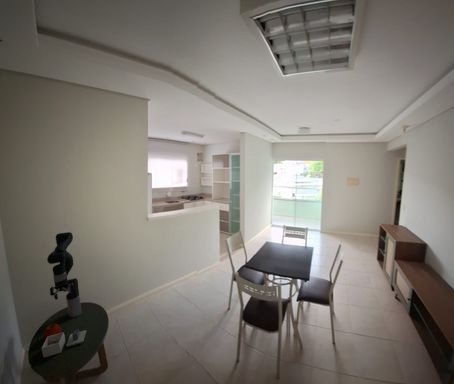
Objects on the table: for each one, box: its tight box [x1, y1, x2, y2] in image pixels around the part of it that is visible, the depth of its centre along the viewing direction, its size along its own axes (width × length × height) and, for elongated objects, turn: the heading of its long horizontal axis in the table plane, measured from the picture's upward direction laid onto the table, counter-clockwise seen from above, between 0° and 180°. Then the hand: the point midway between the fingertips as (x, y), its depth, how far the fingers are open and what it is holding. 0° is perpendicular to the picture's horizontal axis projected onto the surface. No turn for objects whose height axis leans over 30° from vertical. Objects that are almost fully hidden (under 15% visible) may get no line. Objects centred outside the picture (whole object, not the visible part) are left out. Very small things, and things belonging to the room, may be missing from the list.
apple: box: [42, 323, 62, 341], centre depth 162 cm, size 11×11×11 cm
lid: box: [65, 328, 87, 347], centre depth 160 cm, size 11×11×7 cm
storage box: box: [41, 332, 66, 358], centre depth 152 cm, size 10×10×8 cm
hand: (63, 297), depth 158 cm, fingers open, 8 cm apart
